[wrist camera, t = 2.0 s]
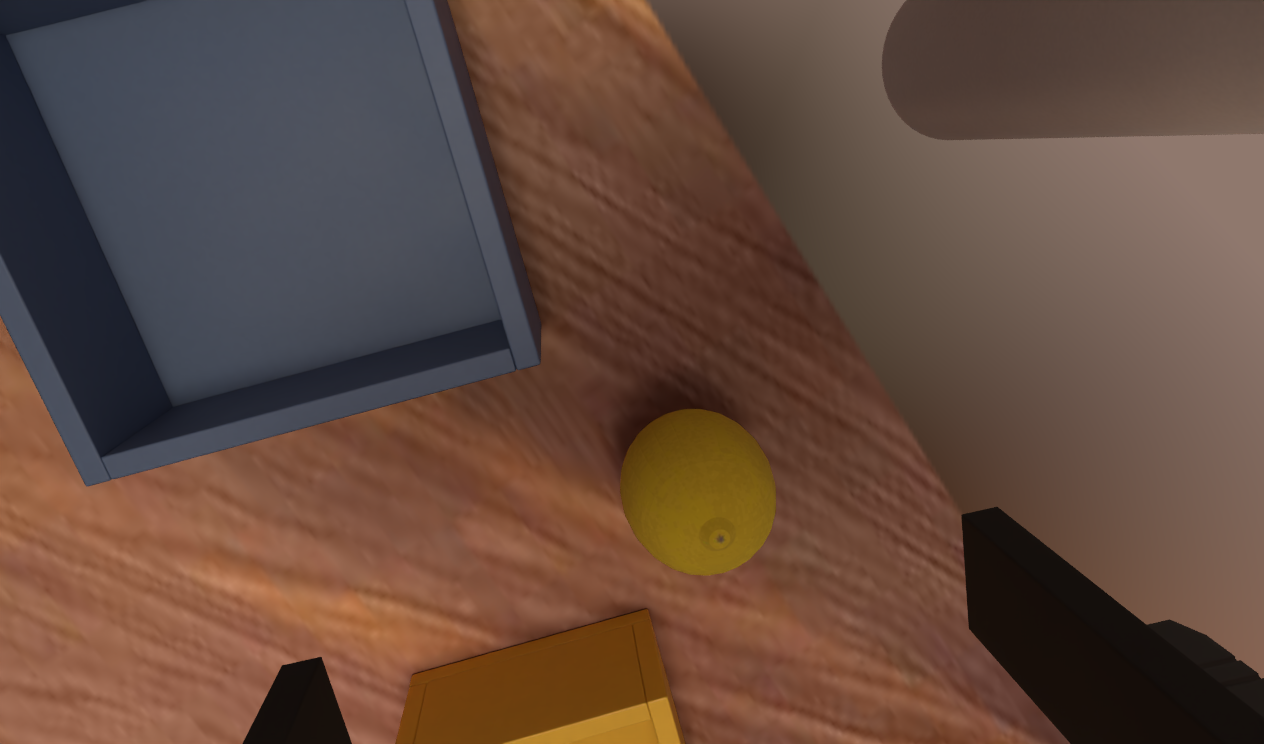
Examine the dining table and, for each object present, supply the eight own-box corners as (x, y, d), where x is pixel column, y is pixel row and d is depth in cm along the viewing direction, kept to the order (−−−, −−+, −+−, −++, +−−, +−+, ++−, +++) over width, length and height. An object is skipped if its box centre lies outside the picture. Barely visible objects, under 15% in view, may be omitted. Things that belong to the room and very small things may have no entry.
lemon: (760, 479, 33) (826, 578, 26) (639, 528, 33) (668, 641, 26) (718, 363, 32) (774, 431, 24) (591, 414, 32) (606, 499, 24)
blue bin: (421, -88, 26) (388, -152, 21) (541, 325, 30) (541, 365, 25) (-14, 19, 26) (-168, -17, 20) (170, 424, 30) (85, 487, 24)
